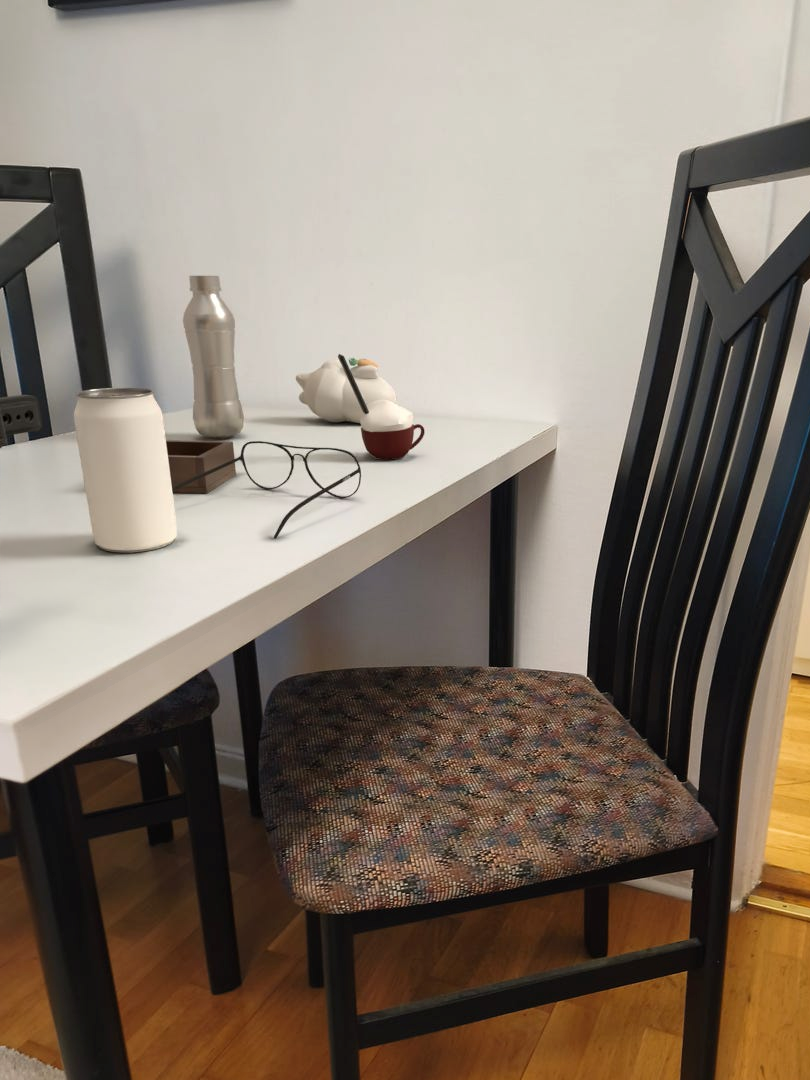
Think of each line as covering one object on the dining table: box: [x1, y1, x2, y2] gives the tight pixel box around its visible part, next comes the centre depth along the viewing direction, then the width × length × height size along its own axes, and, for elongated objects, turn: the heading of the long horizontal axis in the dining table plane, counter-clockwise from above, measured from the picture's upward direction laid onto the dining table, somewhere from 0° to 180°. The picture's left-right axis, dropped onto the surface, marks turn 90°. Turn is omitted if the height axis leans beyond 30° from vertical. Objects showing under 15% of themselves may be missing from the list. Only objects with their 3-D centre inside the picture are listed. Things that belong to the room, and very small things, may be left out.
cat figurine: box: [295, 357, 398, 424], centre depth 130 cm, size 10×8×15 cm
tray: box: [166, 439, 237, 494], centre depth 93 cm, size 9×9×4 cm
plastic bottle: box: [182, 275, 245, 439], centre depth 115 cm, size 6×7×20 cm
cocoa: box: [337, 353, 425, 461], centre depth 105 cm, size 10×6×12 cm, turn 88°
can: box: [73, 387, 178, 554], centre depth 71 cm, size 6×6×12 cm
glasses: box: [172, 440, 362, 539], centre depth 83 cm, size 14×15×5 cm
